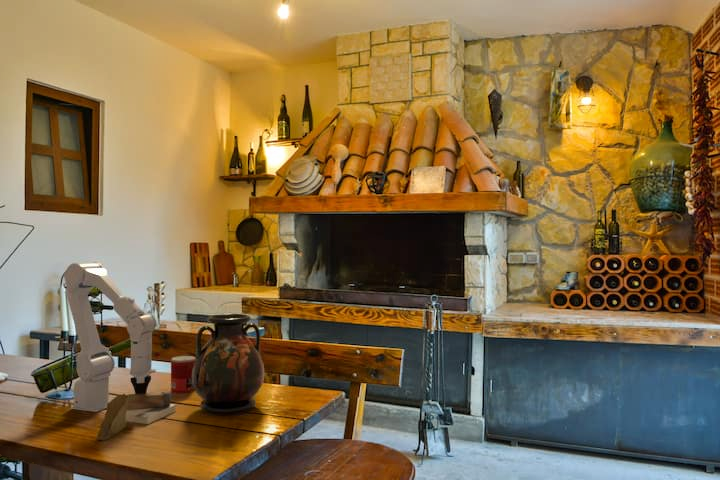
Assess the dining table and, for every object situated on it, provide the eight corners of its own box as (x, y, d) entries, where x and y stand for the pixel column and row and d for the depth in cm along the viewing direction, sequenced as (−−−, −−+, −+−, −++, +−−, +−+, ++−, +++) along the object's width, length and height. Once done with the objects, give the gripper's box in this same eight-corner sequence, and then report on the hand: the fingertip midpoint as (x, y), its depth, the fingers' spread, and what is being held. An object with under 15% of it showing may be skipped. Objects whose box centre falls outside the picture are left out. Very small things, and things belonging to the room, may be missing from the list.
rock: (107, 435, 135) (141, 418, 143) (91, 405, 137) (126, 391, 145) (89, 453, 140) (123, 436, 148) (74, 424, 142) (108, 409, 150)
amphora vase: (196, 423, 151) (197, 323, 151) (187, 402, 170) (188, 313, 171) (272, 414, 160) (273, 319, 160) (255, 395, 179) (255, 310, 179)
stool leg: (170, 403, 162) (170, 391, 162) (170, 405, 159) (170, 393, 159) (127, 406, 158) (127, 394, 158) (126, 409, 156) (126, 397, 156)
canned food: (191, 393, 180) (191, 360, 180) (167, 393, 180) (167, 360, 181) (198, 387, 188) (198, 355, 188) (175, 387, 188) (175, 355, 188)
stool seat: (108, 419, 153) (108, 412, 154) (139, 406, 166) (139, 400, 166) (146, 424, 149) (146, 417, 149) (175, 411, 162) (175, 404, 162)
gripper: (155, 359, 155) (155, 407, 155) (155, 350, 168) (154, 393, 168) (129, 361, 152) (128, 409, 152) (130, 351, 166) (130, 395, 166)
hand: (140, 401), depth 160 cm, fingers closed
